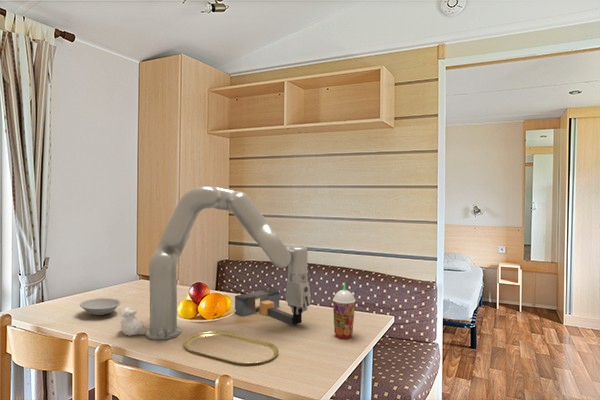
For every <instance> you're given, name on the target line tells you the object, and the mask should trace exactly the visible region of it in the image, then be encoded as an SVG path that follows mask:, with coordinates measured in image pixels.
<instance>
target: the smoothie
mask: <svg viewBox="0 0 600 400" xmlns="http://www.w3.org/2000/svg"><path fill="white" fill-rule="evenodd" d="M332 306H333V309H332V310H333V327H334V328H333V331H334V334H335V336H336V337H337V338H338V339H342V338H343V339H342V340H345V339H350V338H351V337H352V335H353V333H354V321H355V308H356V307H355V306H356V299H355V296H354V294H353V293H352V292H351V291H349V290H347V289H346V282H343V289H340V290H338V291H337V292H336V293H335V294H334V297H332Z"/></svg>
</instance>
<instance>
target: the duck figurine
mask: <svg viewBox="0 0 600 400" xmlns="http://www.w3.org/2000/svg"><path fill="white" fill-rule="evenodd" d="M137 312H138V311H137V310H135V309H132V307H129V306H127V307H124V308H123V309H122V310H121V317H122V318H121V321H120V322H119V324H120V327H121V328H120V329H121V331H122V334H124V335H126V336H127V335H128V336H129V337H131V336H139V335H145V332H146V325H145V323H144V322H143V321H142V320H140V319H139V318H137V317H136V316H135V315H136V314H137ZM138 334H139V335H138ZM128 336H127V337H128Z"/></svg>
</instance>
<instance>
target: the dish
mask: <svg viewBox="0 0 600 400" xmlns="http://www.w3.org/2000/svg"><path fill="white" fill-rule="evenodd" d="M121 303H122V302H121V301H120V300H119V299H116V298H107V297H106V298H102V297H100V298H92V299H87V300H84V301H82V302H80V303H79V307H80V308H81V309H83V310H84V311H86V312H87V313H88V314H91V315H98V316H103V315H107V314H110V313H112V312H113V311H115V309H117V307H119V306H120V305H121Z"/></svg>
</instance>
